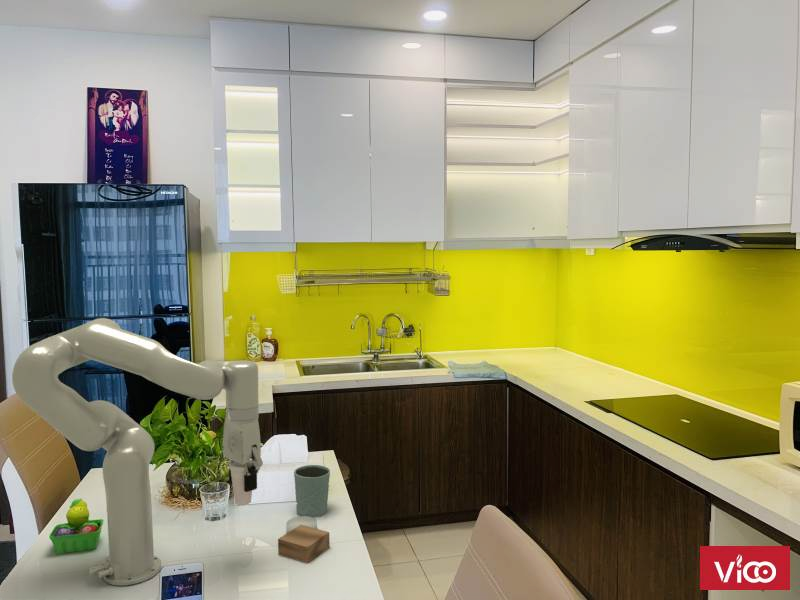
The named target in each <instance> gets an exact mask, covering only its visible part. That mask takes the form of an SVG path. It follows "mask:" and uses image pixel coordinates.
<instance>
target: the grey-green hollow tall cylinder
mask: <svg viewBox="0 0 800 600" xmlns="http://www.w3.org/2000/svg"><path fill="white" fill-rule="evenodd" d="M293 476H294V485H295V486H294V489H295V502H296V514H297V515H298V516H299V515H300V516H309V517H313V518H318V517H322V516H323V515H325V514H326V513H327V511H328V502H329V501H328V500H329V490H330V489H329V487H330V484H329V483H330V478H331V477H330V476H331V469H330V468H329V467H327V466H324V465H320V464H319V465H318V464H308V465H303V466H299V467H297V468H296V469H294V470H293Z"/></svg>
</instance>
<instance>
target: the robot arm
mask: <svg viewBox="0 0 800 600" xmlns="http://www.w3.org/2000/svg"><path fill="white" fill-rule="evenodd" d="M90 360H92V361H95V362H98V363H102V364H103V365H107V366H110V367H114V368H117V369H120V370H123V371H126V372H129V373H132V374H134V375H138V376H141V377H143V378H144V379H146V380H147V381H150V382H152V383H154V384H156V385H158V386H161V387H163V388H164V389H167V390H169V391H172V392H175V393H178V394H181V395H183V396H187V397H190V398H194V399H197V400H204V401H205V400H207V401H208V400H212V399H215V398H216V397H218V396H219V395H220V394H221V393H222V391H223V390H225V418H224V419H225V420H224V423H223V432H222V433H223V434H222V435H223V436H222V455H223V456H224V457H225V458H226V459H227V467H228V483H229V484H230V485H233V484H232V477H231V470H230V469H229V463H231V462H232V461H234V462H236V463H239V464H241V465H244V468H245V473H246V475H244V491H245V492H249V491H252V492H253V491H255V490H257V489H258V473H259V470H260V469H261V467H262V466H263V465H264V463H263V460H262V458H261V453H262V451H261V450H262V449H261V448H262V446H261V443H262V442H261V433H260V424H259V367H258V364H257V363H256V362H254V361H252V360H235V361H224V360H216V359H206V360H203V361H201V362H199V363H195V362H192V361H190V360H187V359H184V358H181V357H179V356H177V355H175V354H173V353H172V352H170V351H169V350H168V349H166V347H164V345H162V344H161V343H160V342H158V341H157V340H155V339H152V338H149V337H146V336H143V335H140V334H137V333H134V332H131V331H129V330H125V329H123V328H121V327H120V324H118V323H117V322H116V321H114V320H112V319H110V318H105V317H101V318H96V319H93V320H91V321H88V322H86V323H84V324H81V325H78V326H76V327H73V328H70V329H68V330H66V331H65V330H64V331H62V332H59V333H57V334H55V335H51V336H49V337H47V338H44V339H42V340H40V341H38V342H35V343H32V344H31V345H29V346H28V347H26V348H25V349H24V350H22V352H21V353H20V354H19V356H18V357H17V359H16V361H15V363H14V366H13V369H12V374H11V381H12V386H13V387H12V388H13V389H14V392H15V393H16V396H17V397H18V398H19V399H20V401H21V402H22V403H23V404H24V405H25V406H27V407H28V408H29V410H31V411H33V412H34V413H35V414H36V415H37V416H39V417H40V418H42V420H43V421H45V422H46V423H48V424H49V425H50V427H52V428H53V429H55V430H56V431H57V432H58V433H60V434H61V435H62V436H63V437H65V439H66V440H68V441H69V442H70V443H72V445H74V446H75V447H77V448H78V449H80V450H82V451H85V452H94V451H97V450H99V449H104V451H106V454H105V455H104V459H103V463H102V479H103V484H104V490H105V499H106V500H105V501H106V514H107V533H108V534H107V536H108V551H109V552H108V555H107V556H105V557H104V561H103V562H101V564H99V565H95V566H92V567H89V568H87V570H86V572H87V577H88V578H92V577H95V576H97V578H98V579H101V578H102V580H103V581H104V582H105V583H107V584H109V585H112V586H131V585H136V584H139V583H143V582H145V581H148V580H149V579H152V577H154V576H156V575H157V574H158V573H159V572H160V571H161V568H162V561H161V559H160V558H159V557H158V556H155V550H154V529H153V528H154V527H153V509H152V508H153V507H152V493H151V482H150V463H151V462H152V459H153V455H154V452H155V441H154V439H153V437H152V436H151V435H150V433H149V432H148V431H147V430H146V429H145V428H143V426H141V425H140V424H139V423H138V422H136V421H135V420H134V419H133V418H132V417H130V415H128V414H127V413H126V412H124V411H123V410H122V409H121V408H119V407H118V406H117V405H115V404H113V403H112V402H109V401H106V400H101V399H97V400H93V401H87V400H86V399H85V398H84V397H83V396H81V395H80V394H79V393H78V392H77V391H76V390H75V389H73V388H72V387H70V386H68V385H66V384H65V383H63V382H61V380H60V379H59V375H60V374H62V373H63V372H64V371H66V370H68V369H70V368H72V367H76V366H79V365H81V364H83V363H85V362H88V361H90ZM250 459H251V460H252V461H249V460H250ZM249 464H252V465H253V466H251V468H250V469H249Z"/></svg>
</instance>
